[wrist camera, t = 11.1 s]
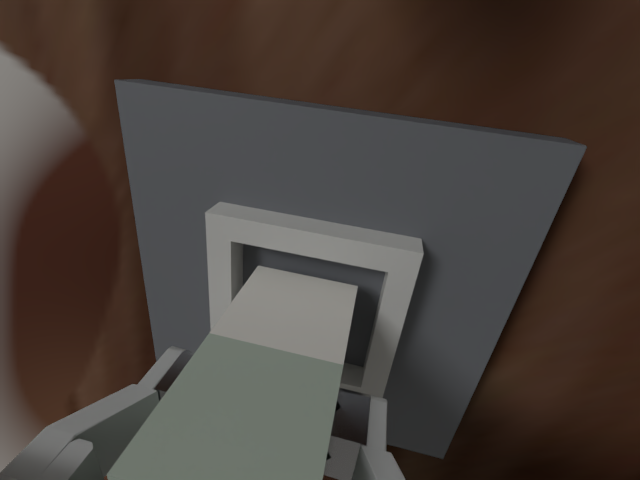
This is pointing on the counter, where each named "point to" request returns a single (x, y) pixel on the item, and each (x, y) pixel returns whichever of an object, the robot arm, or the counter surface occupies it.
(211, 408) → the block stack
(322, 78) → the counter surface
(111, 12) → the counter surface
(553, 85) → the counter surface
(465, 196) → the square peg socket board
